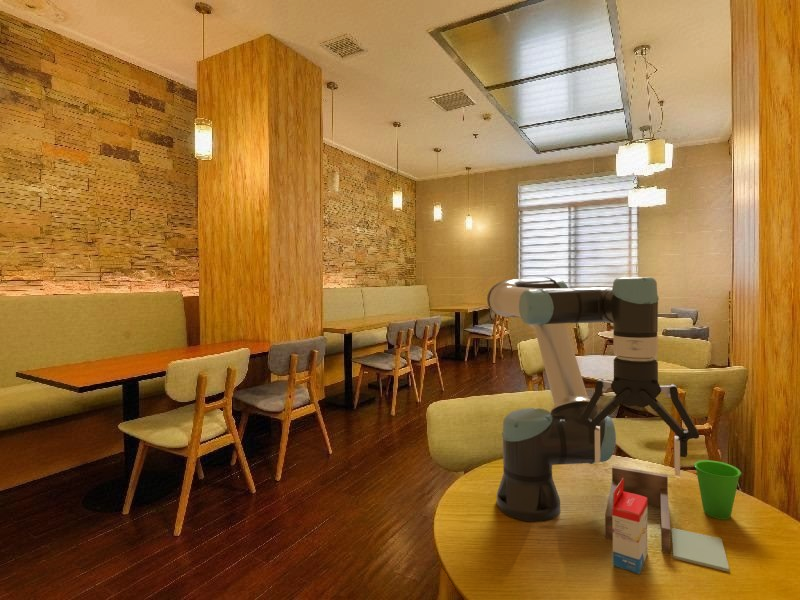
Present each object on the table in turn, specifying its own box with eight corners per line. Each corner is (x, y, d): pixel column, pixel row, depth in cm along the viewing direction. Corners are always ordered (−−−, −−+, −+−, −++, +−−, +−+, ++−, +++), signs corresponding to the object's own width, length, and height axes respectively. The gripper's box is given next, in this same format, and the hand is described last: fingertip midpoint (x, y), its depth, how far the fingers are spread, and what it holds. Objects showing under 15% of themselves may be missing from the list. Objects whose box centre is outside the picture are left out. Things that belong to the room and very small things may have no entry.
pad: (673, 558, 88) (673, 555, 88) (671, 530, 98) (671, 527, 98) (729, 572, 84) (729, 568, 84) (721, 541, 93) (721, 538, 93)
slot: (605, 537, 96) (605, 501, 95) (612, 496, 113) (612, 465, 113) (670, 553, 90) (670, 515, 89) (667, 506, 107) (667, 474, 107)
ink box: (640, 575, 83) (639, 499, 83) (611, 565, 86) (611, 492, 86) (648, 553, 90) (648, 482, 89) (621, 544, 93) (621, 476, 92)
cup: (743, 528, 98) (744, 479, 97) (694, 517, 102) (694, 471, 102) (738, 510, 105) (739, 464, 105) (693, 500, 110) (693, 457, 109)
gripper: (563, 356, 88) (564, 461, 89) (717, 365, 75) (717, 487, 76) (569, 351, 94) (570, 449, 95) (711, 358, 82) (711, 470, 83)
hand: (635, 466), depth 86 cm, fingers open, 13 cm apart
